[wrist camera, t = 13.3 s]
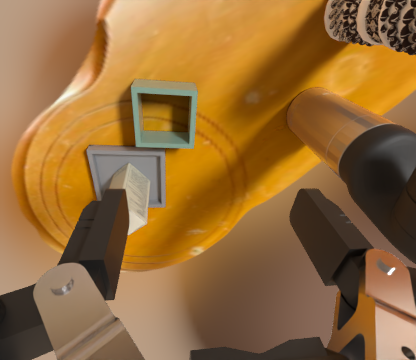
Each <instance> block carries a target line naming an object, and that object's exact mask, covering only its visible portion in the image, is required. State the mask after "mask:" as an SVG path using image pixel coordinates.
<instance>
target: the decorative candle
mask: <svg viewBox="0 0 416 360" xmlns="http://www.w3.org/2000/svg"><path fill="white" fill-rule="evenodd" d="M324 23H325V29H326V31H327V33H328V34H329V36H330V37H331V38H333V39H335V40H337V41H345V42H346V43H349V42H351V41H352V44H356V43H359V44H360V45H364V44H366V45H367V46H372V45H384V46H386V47H388V48H390V49H392V50H396V51H397V52H402V51H404V52H406V53H408V54H409V55H416V0H328V2H327V4H326V9H325V15H324Z"/></svg>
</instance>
